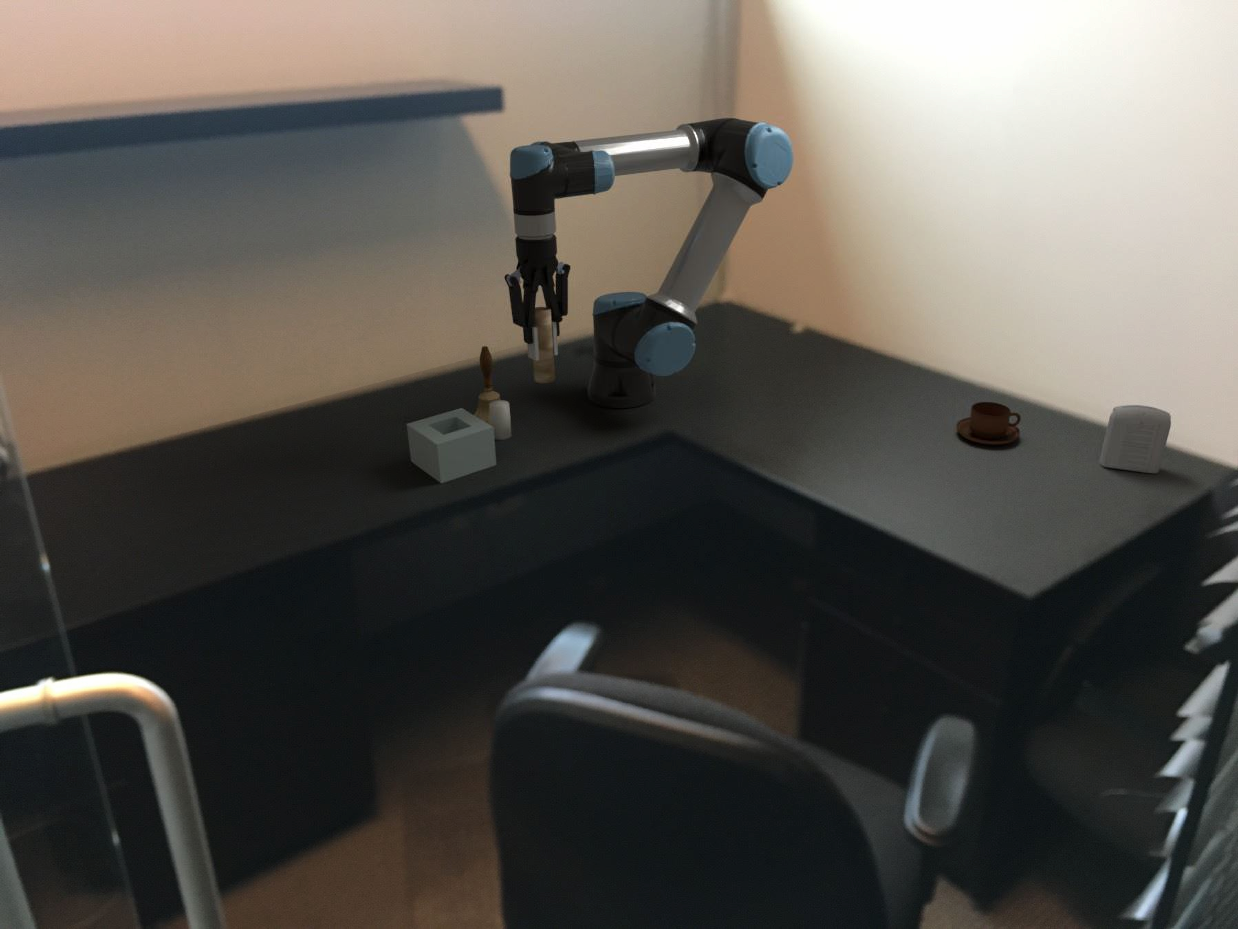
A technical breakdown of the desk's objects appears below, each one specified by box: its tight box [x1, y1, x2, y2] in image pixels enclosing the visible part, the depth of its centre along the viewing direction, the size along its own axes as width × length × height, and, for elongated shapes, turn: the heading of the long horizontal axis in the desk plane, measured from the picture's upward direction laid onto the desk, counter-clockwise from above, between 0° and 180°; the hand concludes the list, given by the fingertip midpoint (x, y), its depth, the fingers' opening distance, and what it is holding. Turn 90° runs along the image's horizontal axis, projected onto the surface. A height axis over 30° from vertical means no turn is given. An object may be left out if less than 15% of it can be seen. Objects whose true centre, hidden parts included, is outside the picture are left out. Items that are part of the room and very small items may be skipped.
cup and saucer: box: [955, 401, 1022, 446], centre depth 199 cm, size 12×12×6 cm
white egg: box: [489, 399, 512, 441], centre depth 203 cm, size 4×4×7 cm
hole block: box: [406, 407, 497, 484], centre depth 191 cm, size 12×12×8 cm
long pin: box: [532, 306, 556, 384], centre depth 191 cm, size 4×4×14 cm
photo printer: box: [1098, 404, 1172, 474], centre depth 184 cm, size 10×4×12 cm, turn 70°
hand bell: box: [473, 345, 512, 425], centre depth 209 cm, size 8×8×16 cm
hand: (543, 355), depth 192 cm, fingers closed on long pin, 4 cm apart
